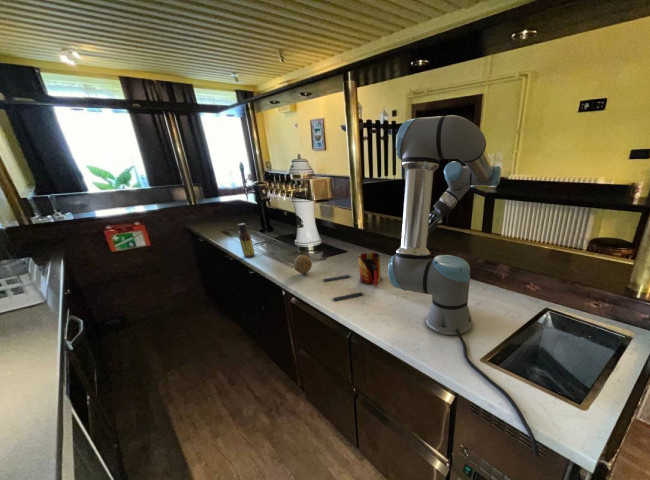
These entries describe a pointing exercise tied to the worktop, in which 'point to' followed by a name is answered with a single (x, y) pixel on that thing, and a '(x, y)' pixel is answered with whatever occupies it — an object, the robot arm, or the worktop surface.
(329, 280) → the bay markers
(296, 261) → the natural sponge
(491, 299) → the worktop surface
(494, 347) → the worktop surface
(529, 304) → the worktop surface
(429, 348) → the worktop surface
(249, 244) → the sauce bottle
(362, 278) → the mug
